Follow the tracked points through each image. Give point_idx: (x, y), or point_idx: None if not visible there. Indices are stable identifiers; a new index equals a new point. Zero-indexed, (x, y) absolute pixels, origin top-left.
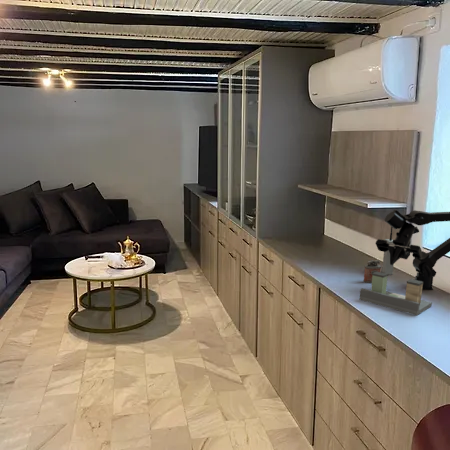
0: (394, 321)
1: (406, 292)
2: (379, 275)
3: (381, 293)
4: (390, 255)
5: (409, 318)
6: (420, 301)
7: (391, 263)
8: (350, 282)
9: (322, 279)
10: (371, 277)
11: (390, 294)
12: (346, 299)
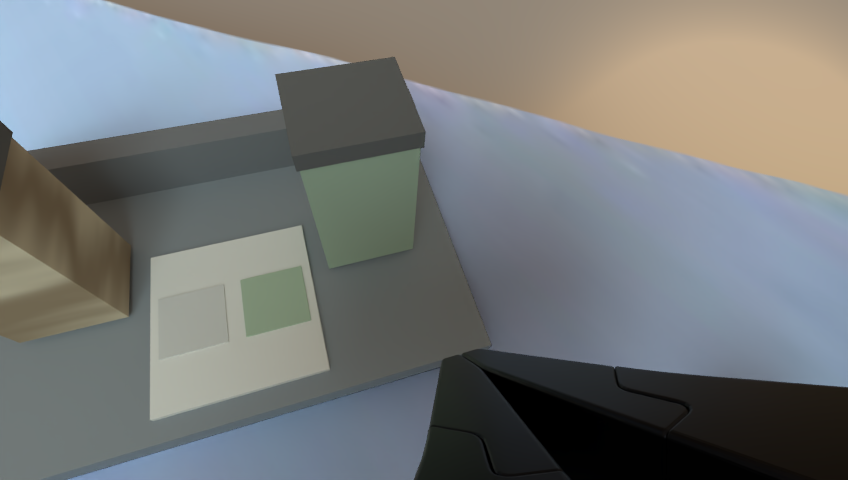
0: (97, 69)
1: (70, 197)
2: (319, 72)
3: (265, 126)
4: (599, 372)
5: (46, 147)
6: (3, 332)
7: (449, 357)
8: (760, 356)
9: (835, 222)
10: None
11: (312, 309)
12: (441, 97)
